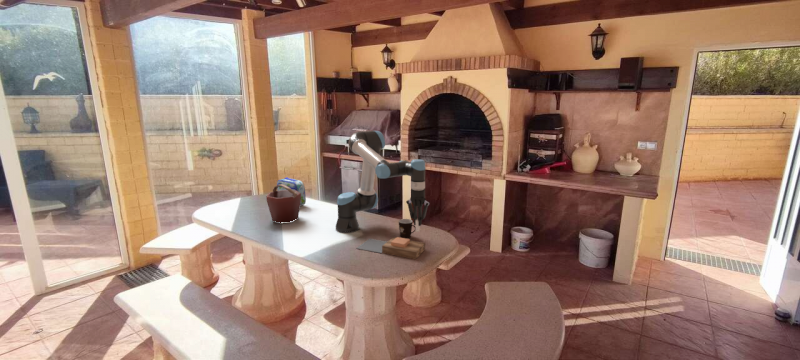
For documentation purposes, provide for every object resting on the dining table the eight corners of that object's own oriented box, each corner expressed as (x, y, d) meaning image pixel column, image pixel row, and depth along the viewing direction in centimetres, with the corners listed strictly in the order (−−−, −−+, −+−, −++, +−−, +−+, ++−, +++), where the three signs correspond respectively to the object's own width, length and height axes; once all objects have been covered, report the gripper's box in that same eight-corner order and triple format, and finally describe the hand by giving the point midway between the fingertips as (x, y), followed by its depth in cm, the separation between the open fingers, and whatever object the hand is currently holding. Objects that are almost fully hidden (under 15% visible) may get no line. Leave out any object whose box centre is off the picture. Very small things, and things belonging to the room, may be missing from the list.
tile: (397, 240, 219) (397, 237, 219) (409, 242, 216) (409, 239, 216) (391, 245, 212) (391, 241, 212) (404, 247, 209) (404, 244, 209)
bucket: (306, 221, 263) (304, 186, 258) (273, 227, 251) (271, 190, 245) (294, 212, 283) (292, 179, 277) (263, 218, 271) (260, 183, 265)
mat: (369, 239, 232) (369, 238, 232) (393, 243, 226) (393, 242, 225) (356, 248, 218) (356, 248, 218) (381, 253, 211) (381, 252, 211)
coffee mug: (396, 235, 239) (396, 219, 236) (408, 233, 242) (409, 218, 240) (403, 241, 228) (403, 225, 226) (416, 239, 231) (417, 223, 229)
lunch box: (276, 203, 308) (274, 177, 303) (287, 200, 316) (285, 175, 311) (295, 209, 292) (294, 182, 287) (307, 206, 300) (306, 179, 295)
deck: (392, 243, 225) (392, 237, 224) (424, 249, 217) (425, 243, 216) (382, 252, 212) (382, 246, 211) (415, 259, 204) (415, 252, 203)
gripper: (403, 189, 202) (403, 231, 207) (427, 191, 197) (426, 234, 202) (409, 186, 209) (409, 227, 214) (431, 188, 204) (431, 230, 209)
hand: (417, 231), depth 208 cm, fingers closed
